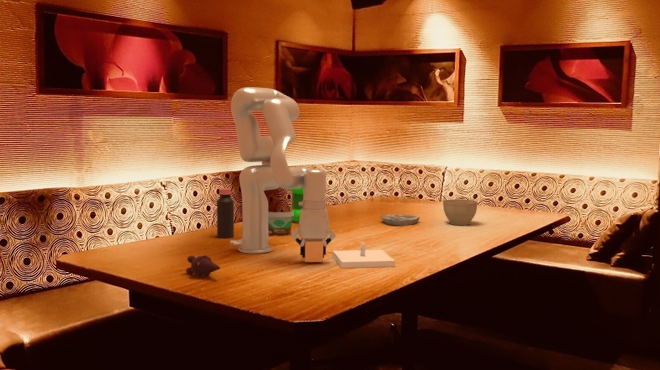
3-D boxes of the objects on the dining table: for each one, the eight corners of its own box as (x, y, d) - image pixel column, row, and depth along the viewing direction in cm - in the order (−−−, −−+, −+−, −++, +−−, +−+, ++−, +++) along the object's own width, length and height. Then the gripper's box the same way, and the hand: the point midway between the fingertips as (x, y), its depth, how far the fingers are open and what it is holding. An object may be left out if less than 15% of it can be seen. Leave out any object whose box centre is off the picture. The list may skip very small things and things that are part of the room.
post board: (341, 268, 212) (342, 248, 211) (332, 256, 229) (333, 238, 229) (394, 266, 215) (394, 247, 214) (381, 255, 232) (382, 237, 232)
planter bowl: (474, 221, 309) (475, 199, 308) (479, 227, 293) (479, 203, 292) (441, 220, 310) (441, 198, 309) (443, 226, 294) (444, 203, 293)
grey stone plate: (395, 219, 316) (395, 213, 316) (424, 223, 305) (425, 216, 305) (371, 224, 301) (372, 217, 301) (402, 228, 290) (402, 221, 290)
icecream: (229, 257, 197) (197, 254, 207) (211, 255, 192) (179, 252, 201) (227, 280, 196) (195, 276, 206) (209, 278, 191) (176, 275, 200)
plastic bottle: (311, 223, 297) (311, 170, 295) (288, 223, 298) (288, 170, 295) (312, 220, 307) (312, 168, 305) (290, 220, 308) (290, 168, 305)
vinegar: (230, 238, 260) (230, 190, 257) (214, 238, 261) (214, 189, 259) (236, 235, 266) (235, 188, 264) (220, 235, 268) (220, 187, 265)
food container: (267, 237, 265) (267, 213, 264) (265, 234, 271) (265, 210, 269) (296, 235, 268) (296, 212, 267) (293, 233, 274) (293, 210, 273)
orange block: (305, 262, 216) (305, 241, 215) (303, 257, 222) (303, 238, 221) (322, 261, 217) (323, 241, 216) (320, 257, 223) (320, 237, 222)
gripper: (290, 207, 212) (288, 260, 214) (341, 207, 215) (339, 259, 217) (287, 203, 220) (286, 254, 222) (337, 203, 222) (335, 254, 225)
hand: (312, 256), depth 219 cm, fingers closed on orange block, 5 cm apart
